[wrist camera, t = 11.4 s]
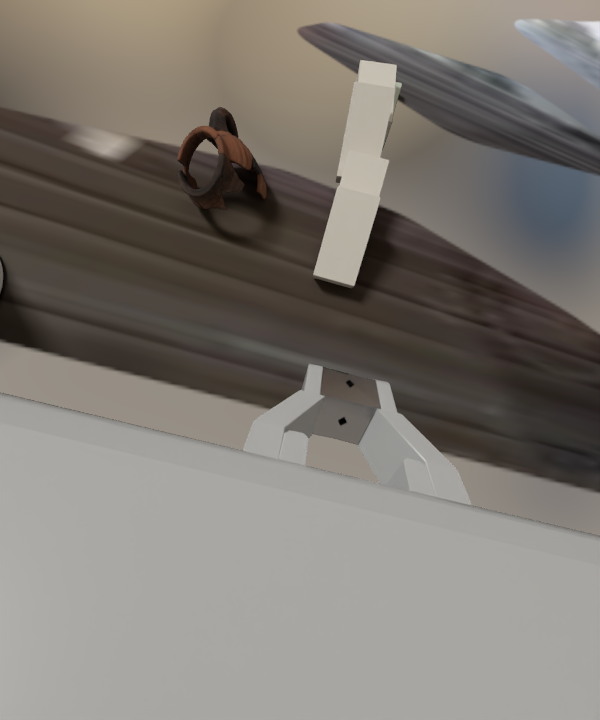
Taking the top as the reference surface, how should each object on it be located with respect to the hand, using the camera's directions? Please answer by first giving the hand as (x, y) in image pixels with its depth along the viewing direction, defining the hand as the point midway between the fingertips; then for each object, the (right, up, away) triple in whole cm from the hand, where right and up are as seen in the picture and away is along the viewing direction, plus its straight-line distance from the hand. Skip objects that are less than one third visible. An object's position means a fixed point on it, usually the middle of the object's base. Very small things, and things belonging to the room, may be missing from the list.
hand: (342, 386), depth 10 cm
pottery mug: (-11, +24, +25) cm, 37 cm away
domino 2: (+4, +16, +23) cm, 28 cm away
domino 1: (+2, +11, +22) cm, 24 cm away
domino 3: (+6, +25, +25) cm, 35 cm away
